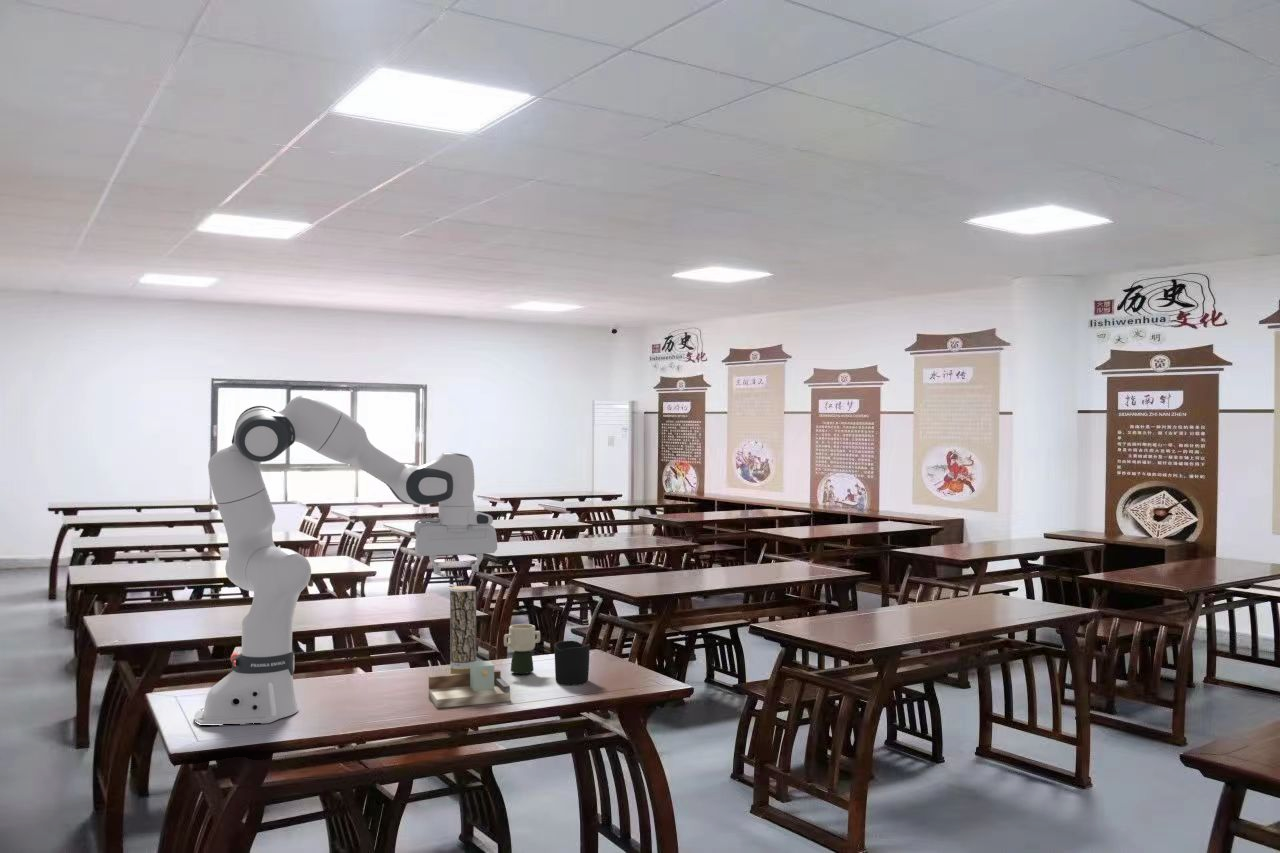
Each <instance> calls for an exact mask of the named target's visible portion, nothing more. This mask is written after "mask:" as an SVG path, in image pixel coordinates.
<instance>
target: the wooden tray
mask: <svg viewBox="0 0 1280 853" xmlns="http://www.w3.org/2000/svg"><path fill="white" fill-rule="evenodd" d="M501 675H502V674H501V670H500V669H497V670H496V669H494V689H493V690H482V691H474V690H473V689H472V688H471V687H470V673H458V674H451V673H450V674H449V673H448V674H438V675H437V674H436V675H428V698H429V699H430V700H431V702H432V703H433V705H434V706H435V708H436V709H442V708H452V707H462V706H471V705H472V706H473V705H481V704H482V705H483V704H484V705H485V704H491V703H493V704H494V703H503V702H511V687H510V686H511V685H510V684H508V683H507V682H506V680H504V679H503V678H502V677H501Z"/></svg>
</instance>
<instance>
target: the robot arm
mask: <svg viewBox="0 0 1280 853" xmlns="http://www.w3.org/2000/svg"><path fill="white" fill-rule="evenodd" d="M295 442H296V443H300V444H302V445H304V446H307V448H310V449H311V450H312V451H315V452H317V453H318V454H320V455H322V456H324V457H326V458H328V459H330V460H333V461H336V462H339V463H341V464H344V465H345V464H346V465H350V466H354V467H356V468H359V469H361V470H362V471H364V472H365V473H367V474H369V475H371V476H372V477H374V478H375V479H377V480H379V481H381V482H382V483H384V484H385V485H386V486H387V487H388V488H389V489H390V491H391V492H392V494H393V495H394V496H395V498H396V499H397V500H399V501H400V502H402V503H403V504H407V505H416V506H417V505H418V506H429V505H432V504H435V503H438V517H431V518H428V517H427V518H426V517H424V518H420V519H418V520H417V521H416V522H415V523H414V526H413V530H414V535H415V541H414V544H415V545H414V553H415V554H416V555H417V556H419V557H428V558H429V561H430V563H431V565H432V566H433V574H434V575H439V574H441V573H442V571H441V569H442V567H441V565H437V562H436V560H437V556H452V555H453V556H454V555H455V556H456V555H459V556H460V555H475V557H476V558H477V559H476V561H475V562H474V564H470V565H471V566H470V567H471V573H479V569H480V568H479V566H480V565H481V562H482V561H483V560H484V554H494V553H495V552H496V551H497V550H498V539H497V538H498V537H497V532H496V528H495V527H494V526H493V525H492V524H493V522H494V519H493V516H492V515H490V514H488V513H484V512H482V511H480V510H476V509H475V500H474V491H475V472H474V471H475V469H474V464H473V460H472V458H470V456H469V455H466V454H464V453H458V452H451V451H446V452H442V453H441V455H439V456H438V457H436V458H435V459H433V460H430V461H429V462H426V463H424V464H422V465H416V464H410V463H402V462H400V461H398V460H396V459H394V458H393V457H391V456H390V455H388V454H386V453H385V452H383V451H382V450H380V449H379V448H377V447H375V446H374V445H373V444H372V443H371V442H370V440H369V438H368V436H367V432H366V430H365V428H364V427H363V426H362V425H361V424H360V423H359V422H357V421H356V420H355V419H354V418H352V417H351V416H350V415H348V414H346V413H345V412H343V411H342V410H339V409H338V408H336V407H335V406H332V405H331V404H328V403H327V402H324V401H322V400H320V399H317V398H315V397H311V396H309V395H299V396H296V397H294V398H292V399H291V400H290V401H289V402H288V403H287V404H286V405H285V406H284V408H283V409H282V410H280V411H276V410H275V409H273V408H272V407H268V406H264V405H256V406H255V405H254V406H252V407H249V408H247V409H245V410H244V411H243V412H241V414H240V415H239V416H238V418H237V420H236V422H235V426H234V431H233V436H232V439H231V445H230V446H227V447H225V448H223V449H220V450H218V451H217V452H215V453H214V454H213V455H212V456H211V457H210V459H209V461H208V465H207V468H208V475H209V476H208V477H209V481H210V482H209V483H210V486H211V490H212V493H213V497H214V500H215V502H216V506H217V508H218V511H219V514H220V518H221V519H222V522H223V526H224V528H225V533H226V537H227V544H228V557H227V560H226V563H225V566H224V567H225V568H224V569H225V574H226V577H227V578H228V580H229V581H230V582H231V583H233V584H234V585H235V586H236V587H239V588H240V589H242V590H243V591H248V592H253V597H252V603H251V606H250V609H249V611H248V613H247V614H246V615H245V616H244V617H243V619H242V622H241V653H237V652H234V653H232V654H231V655H230V662H231V669H232V671H230V672H229V673H228V674H227V675H226V676H224V677H223V678H222V679H221V680H219V681H218V682H217V683H215V684H214V685H213V686H212V687H211V688H210V689H209V691H208V693H207V695H206V699H205V704H204V707H203V708H200V709H199V710H201V711H199V710H197V711H196V712H195V714H194V717H195V721H196V722H198V723H200V724H240V725H244V724H243V723H253V724H252V725H255V724H254V723H261V724H270V723H273V722H275V721H277V720H280V719H282V718H286V717H290V716H292V715H294V714H296V713H297V712H299V711H300V708H299V705H298V702H297V697H296V693H295V687H294V686H295V684H294V672H295V654H294V650H293V624H294V623H293V620H294V614H295V610H296V606H297V602H298V600H299V597H300V595H301V592H302V591H303V590H305V588H306V587H307V586H308V584H309V583H310V580H311V577H312V568H311V567H312V566H311V563H310V562H309V560H308V559H307V558H306V557H305V556H304V555H302V554H301V553H299V552H297V551H295V550H293V549H290V548H284V547H277V546H276V544H275V542H274V540H273V524H275V520H276V513H275V511H274V507H273V504H272V502H271V499H270V495H269V494H268V490H267V487H266V484H265V482H264V479H263V476H262V472H261V464H262V463H265V462H269V461H272V460H274V459H276V458H277V457H279V456H280V455H281V454H282V453H284V452H285V451H286V450H287V449H288V448H290V447H291V446H292V445H293V444H294V443H295ZM203 709H204V711H202V710H203Z"/></svg>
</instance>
